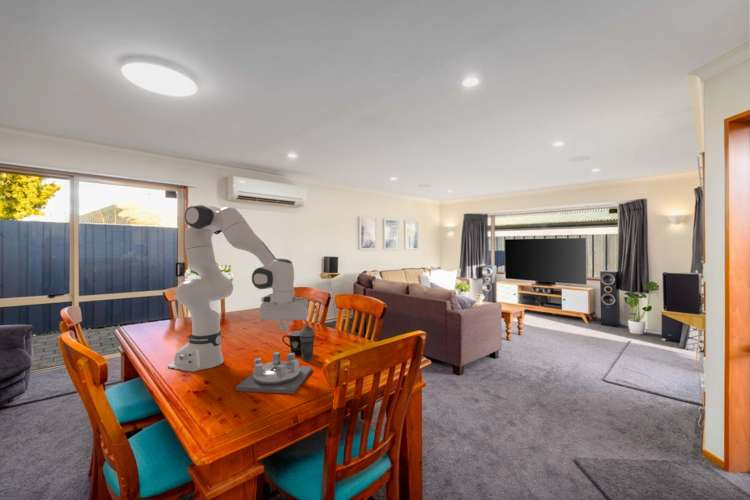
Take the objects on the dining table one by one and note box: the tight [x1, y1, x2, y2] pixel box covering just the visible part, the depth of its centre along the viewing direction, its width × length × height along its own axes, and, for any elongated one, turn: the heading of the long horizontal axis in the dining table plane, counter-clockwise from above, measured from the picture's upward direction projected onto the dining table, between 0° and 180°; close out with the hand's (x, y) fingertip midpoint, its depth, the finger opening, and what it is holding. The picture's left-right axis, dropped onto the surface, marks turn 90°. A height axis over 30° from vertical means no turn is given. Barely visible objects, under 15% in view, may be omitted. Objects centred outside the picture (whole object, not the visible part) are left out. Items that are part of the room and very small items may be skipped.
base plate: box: [235, 365, 313, 395], centre depth 128 cm, size 22×22×2 cm
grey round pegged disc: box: [252, 351, 301, 385], centre depth 127 cm, size 19×18×6 cm
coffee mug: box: [281, 330, 302, 356], centre depth 160 cm, size 12×9×10 cm
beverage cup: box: [299, 318, 316, 362], centre depth 150 cm, size 7×7×20 cm
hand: (284, 329), depth 134 cm, fingers closed
